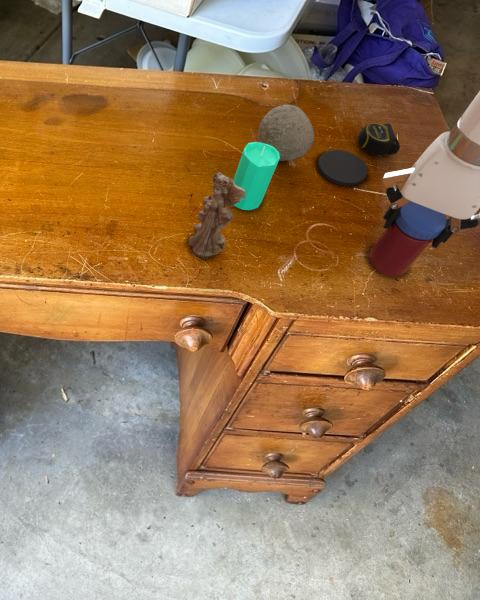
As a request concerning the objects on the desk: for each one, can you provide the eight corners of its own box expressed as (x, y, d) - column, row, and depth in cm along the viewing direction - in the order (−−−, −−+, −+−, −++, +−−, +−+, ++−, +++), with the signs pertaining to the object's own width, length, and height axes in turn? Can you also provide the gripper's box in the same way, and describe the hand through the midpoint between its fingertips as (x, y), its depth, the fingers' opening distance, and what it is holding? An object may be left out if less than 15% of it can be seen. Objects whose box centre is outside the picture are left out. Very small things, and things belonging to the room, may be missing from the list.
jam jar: (410, 254, 97) (444, 212, 88) (404, 282, 93) (439, 241, 85) (372, 241, 98) (402, 198, 89) (365, 267, 95) (395, 226, 86)
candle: (221, 196, 103) (238, 144, 93) (243, 181, 105) (262, 129, 95) (246, 215, 101) (267, 164, 91) (268, 200, 103) (290, 148, 93)
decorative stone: (242, 146, 111) (256, 103, 103) (275, 132, 113) (292, 89, 105) (276, 179, 106) (294, 136, 98) (310, 164, 108) (331, 121, 100)
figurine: (176, 237, 97) (193, 172, 85) (203, 223, 99) (224, 157, 87) (204, 266, 94) (226, 202, 81) (231, 251, 96) (257, 187, 83)
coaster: (371, 163, 109) (372, 160, 108) (358, 192, 105) (360, 189, 104) (325, 146, 111) (326, 143, 111) (311, 174, 107) (312, 171, 106)
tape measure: (394, 160, 110) (404, 145, 107) (359, 158, 110) (367, 143, 107) (385, 136, 114) (394, 121, 111) (351, 134, 114) (359, 119, 110)
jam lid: (445, 242, 86) (451, 235, 84) (398, 237, 86) (404, 229, 85) (435, 209, 89) (441, 202, 88) (391, 204, 90) (396, 196, 88)
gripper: (554, 150, 74) (472, 238, 89) (418, 104, 79) (362, 196, 94) (548, 185, 71) (464, 271, 85) (406, 135, 75) (349, 225, 90)
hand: (411, 231), depth 89 cm, fingers closed on jam lid, 6 cm apart
